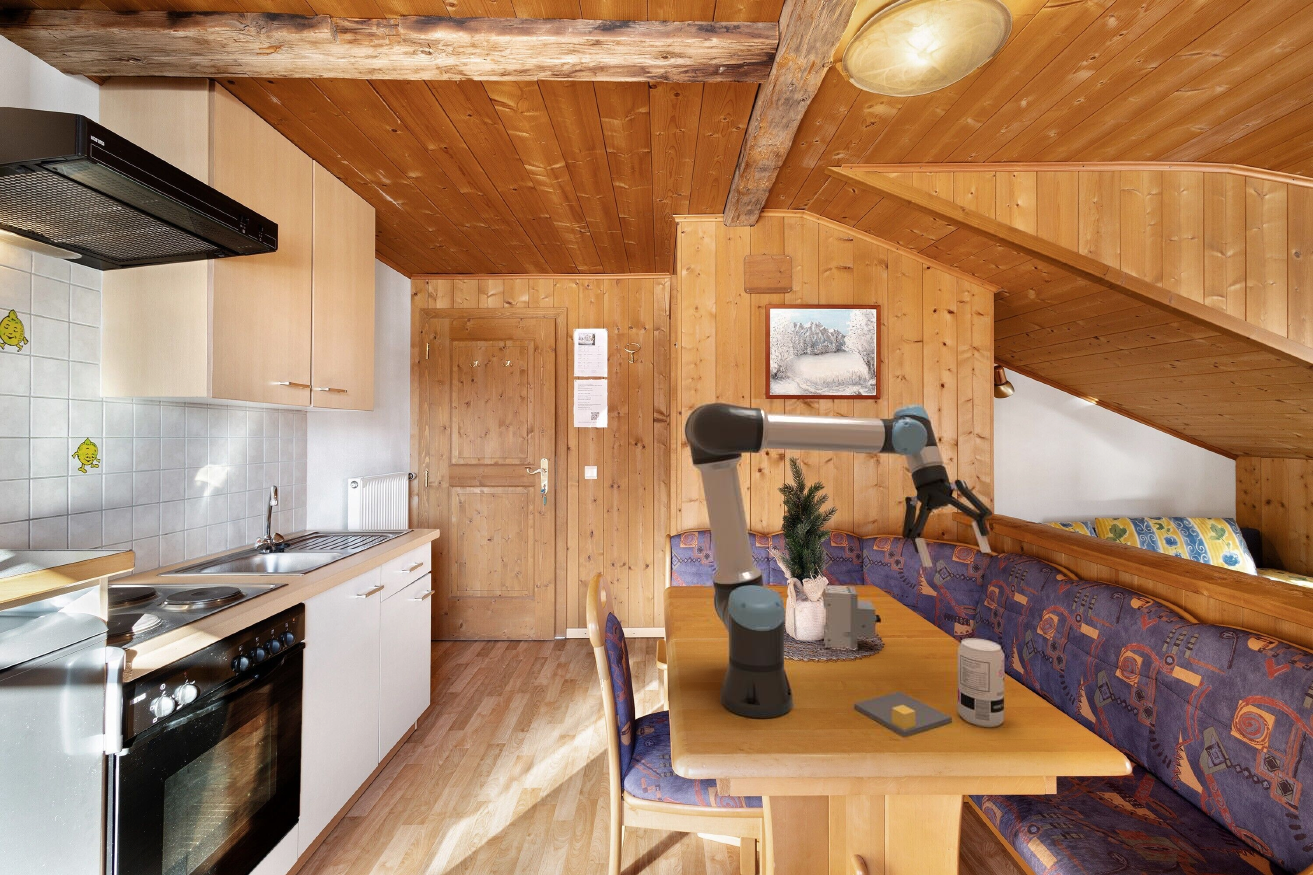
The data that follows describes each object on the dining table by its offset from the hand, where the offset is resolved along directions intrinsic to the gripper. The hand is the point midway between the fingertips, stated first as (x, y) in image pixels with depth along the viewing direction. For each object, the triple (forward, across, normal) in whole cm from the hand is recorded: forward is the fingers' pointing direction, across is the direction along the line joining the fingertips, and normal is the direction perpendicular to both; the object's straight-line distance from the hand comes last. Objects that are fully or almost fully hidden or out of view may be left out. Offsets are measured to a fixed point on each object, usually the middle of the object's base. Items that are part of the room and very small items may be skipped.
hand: (956, 559), depth 133 cm
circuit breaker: (+14, +40, -10) cm, 43 cm away
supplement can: (+31, +3, +4) cm, 32 cm away
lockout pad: (+29, +13, +15) cm, 35 cm away
